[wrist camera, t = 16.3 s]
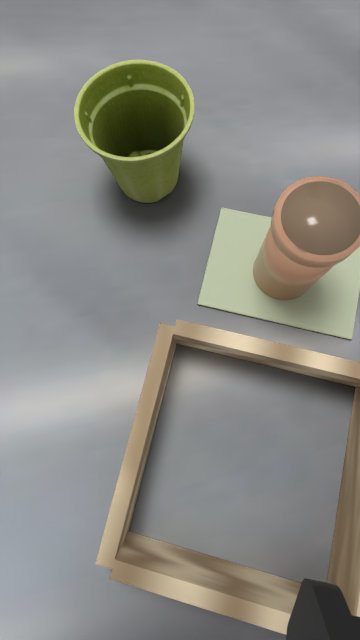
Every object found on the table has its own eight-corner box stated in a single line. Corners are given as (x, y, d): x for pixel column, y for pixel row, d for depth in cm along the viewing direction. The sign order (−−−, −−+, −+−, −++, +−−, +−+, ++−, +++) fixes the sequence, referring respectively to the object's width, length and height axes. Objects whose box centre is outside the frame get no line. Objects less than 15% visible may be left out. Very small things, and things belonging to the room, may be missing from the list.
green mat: (197, 304, 32) (197, 303, 32) (221, 209, 34) (221, 207, 34) (350, 339, 31) (351, 339, 31) (366, 238, 33) (367, 236, 32)
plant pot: (112, 133, 37) (86, 54, 28) (200, 140, 36) (201, 62, 27) (95, 213, 35) (62, 154, 26) (188, 223, 34) (185, 166, 26)
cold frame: (110, 542, 28) (92, 573, 23) (167, 327, 32) (162, 315, 27) (338, 612, 26) (370, 661, 22) (371, 376, 30) (405, 373, 25)
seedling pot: (244, 294, 32) (266, 249, 22) (258, 235, 33) (284, 168, 23) (310, 309, 31) (362, 270, 21) (321, 248, 32) (375, 185, 23)
